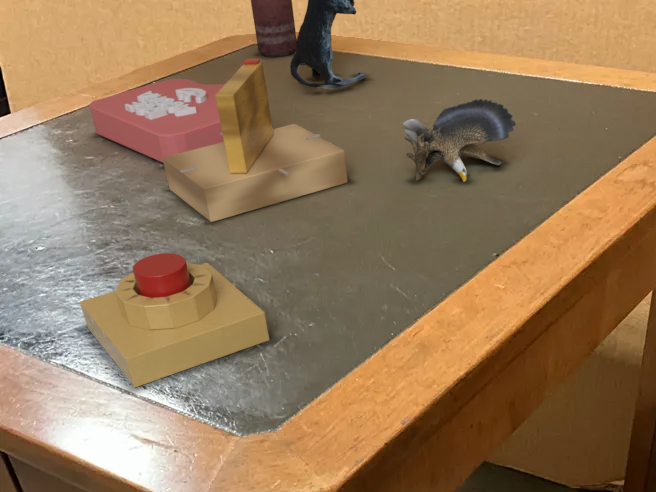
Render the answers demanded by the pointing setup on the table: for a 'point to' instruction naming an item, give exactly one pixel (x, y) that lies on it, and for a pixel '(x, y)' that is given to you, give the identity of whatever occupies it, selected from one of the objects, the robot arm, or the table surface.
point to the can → (274, 27)
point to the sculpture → (320, 43)
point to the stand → (256, 173)
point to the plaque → (161, 117)
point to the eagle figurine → (458, 135)
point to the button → (161, 275)
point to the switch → (174, 325)
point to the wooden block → (245, 115)
